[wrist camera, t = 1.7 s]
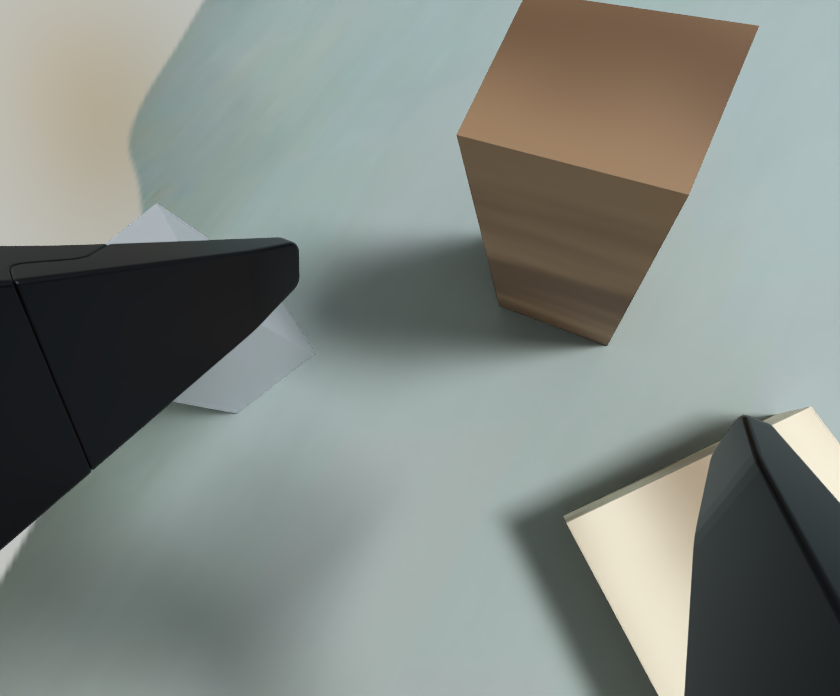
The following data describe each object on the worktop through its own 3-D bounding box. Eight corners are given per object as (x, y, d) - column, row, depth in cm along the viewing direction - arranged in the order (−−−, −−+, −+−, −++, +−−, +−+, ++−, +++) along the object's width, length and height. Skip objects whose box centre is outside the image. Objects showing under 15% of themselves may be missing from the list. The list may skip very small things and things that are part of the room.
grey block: (237, 413, 24) (99, 388, 17) (197, 338, 26) (55, 284, 18) (315, 353, 24) (211, 299, 16) (270, 281, 25) (156, 202, 18)
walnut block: (607, 345, 21) (688, 194, 9) (499, 305, 22) (456, 135, 11) (641, 263, 21) (758, 25, 10) (533, 230, 23) (527, -8, 11)
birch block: (693, 760, 17) (724, 818, 14) (562, 514, 20) (566, 522, 17) (945, 657, 16) (1032, 698, 13) (770, 415, 19) (810, 406, 16)
